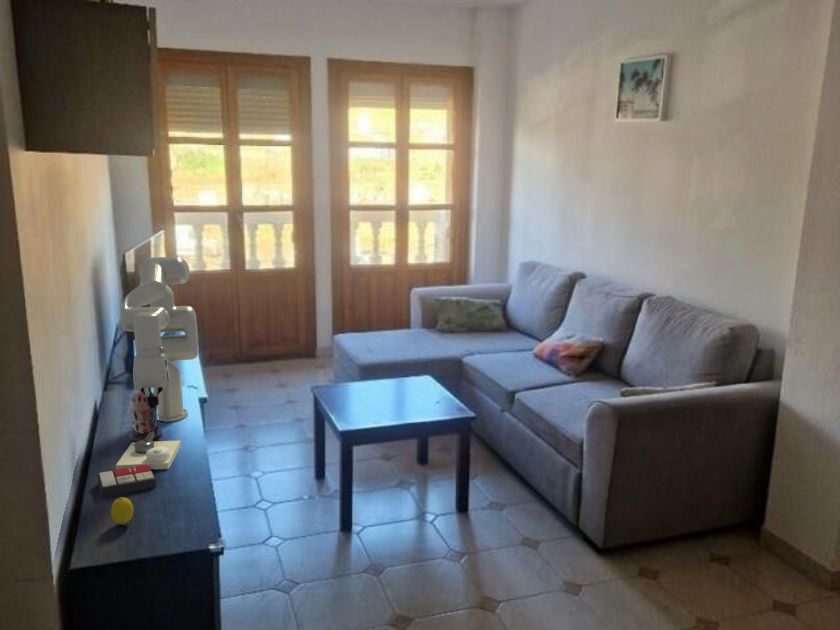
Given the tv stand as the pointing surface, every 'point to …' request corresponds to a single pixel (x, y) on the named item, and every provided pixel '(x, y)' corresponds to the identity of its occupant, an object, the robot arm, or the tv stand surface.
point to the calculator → (125, 480)
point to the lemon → (122, 510)
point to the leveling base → (141, 458)
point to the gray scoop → (145, 444)
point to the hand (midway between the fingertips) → (153, 407)
